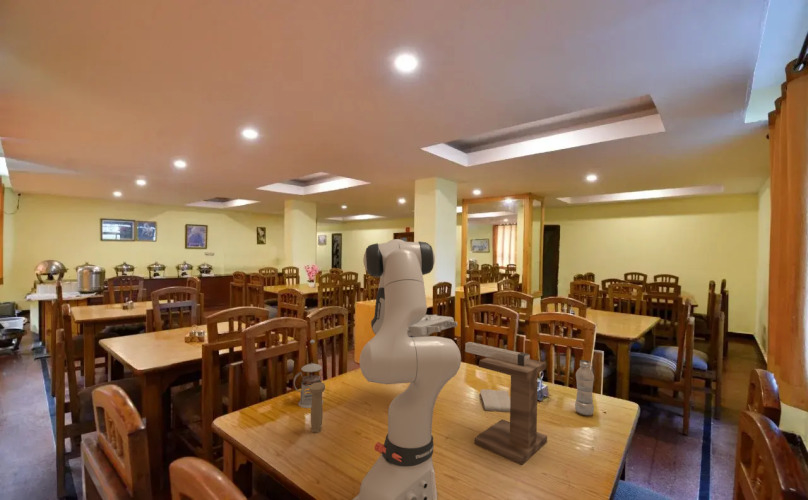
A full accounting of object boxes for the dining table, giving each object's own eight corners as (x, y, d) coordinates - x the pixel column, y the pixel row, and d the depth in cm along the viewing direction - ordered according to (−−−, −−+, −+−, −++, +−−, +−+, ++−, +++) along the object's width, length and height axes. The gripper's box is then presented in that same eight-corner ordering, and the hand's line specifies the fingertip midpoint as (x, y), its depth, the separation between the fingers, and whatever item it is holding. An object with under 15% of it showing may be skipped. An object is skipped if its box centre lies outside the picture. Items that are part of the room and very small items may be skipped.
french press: (325, 406, 139) (326, 341, 139) (294, 410, 135) (295, 344, 135) (321, 396, 148) (322, 336, 148) (292, 400, 144) (293, 338, 144)
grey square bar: (525, 366, 110) (525, 356, 110) (465, 351, 125) (465, 342, 125) (529, 364, 112) (529, 354, 112) (470, 350, 127) (470, 341, 127)
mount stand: (522, 465, 102) (523, 374, 103) (474, 443, 113) (475, 361, 114) (547, 441, 115) (548, 361, 116) (501, 424, 126) (503, 351, 127)
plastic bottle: (574, 415, 135) (575, 362, 135) (575, 408, 141) (576, 358, 141) (593, 419, 132) (594, 365, 132) (593, 412, 138) (594, 360, 138)
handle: (306, 435, 117) (307, 389, 117) (312, 425, 123) (313, 382, 123) (320, 436, 116) (321, 389, 116) (326, 426, 123) (327, 382, 123)
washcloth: (506, 395, 154) (506, 388, 154) (515, 414, 136) (516, 406, 136) (478, 394, 155) (478, 386, 155) (484, 412, 137) (484, 404, 137)
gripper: (401, 322, 134) (428, 323, 124) (436, 313, 149) (463, 313, 139) (403, 339, 134) (430, 341, 124) (438, 328, 148) (465, 330, 138)
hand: (448, 326), depth 131 cm, fingers open, 8 cm apart
